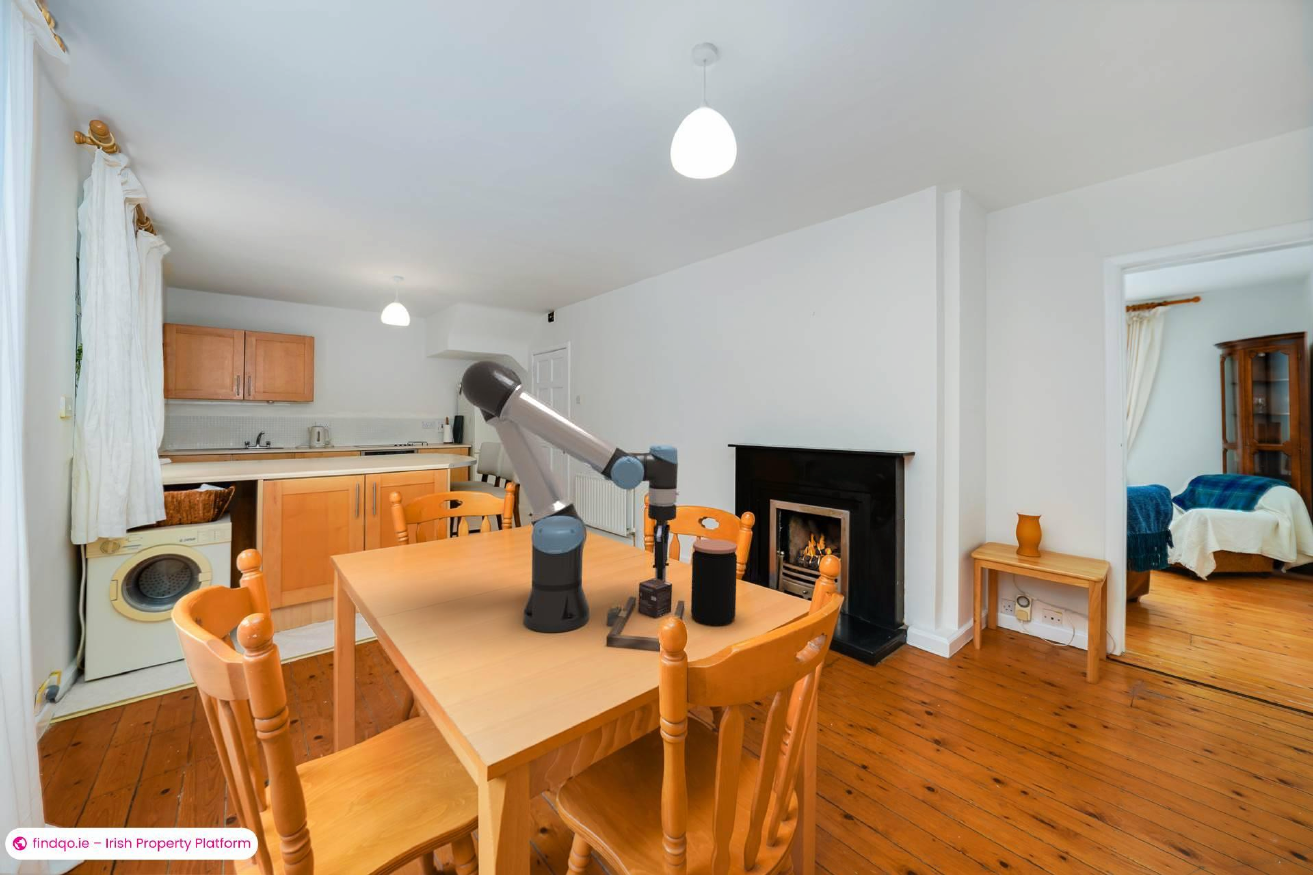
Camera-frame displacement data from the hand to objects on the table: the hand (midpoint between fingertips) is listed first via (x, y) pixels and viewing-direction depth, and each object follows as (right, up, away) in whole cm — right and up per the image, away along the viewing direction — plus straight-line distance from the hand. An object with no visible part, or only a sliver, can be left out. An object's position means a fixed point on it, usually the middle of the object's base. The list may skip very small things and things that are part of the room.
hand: (660, 591), depth 133 cm
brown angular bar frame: (-4, -2, -18) cm, 18 cm away
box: (-1, -2, -10) cm, 10 cm away
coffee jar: (+13, -3, -13) cm, 18 cm away
